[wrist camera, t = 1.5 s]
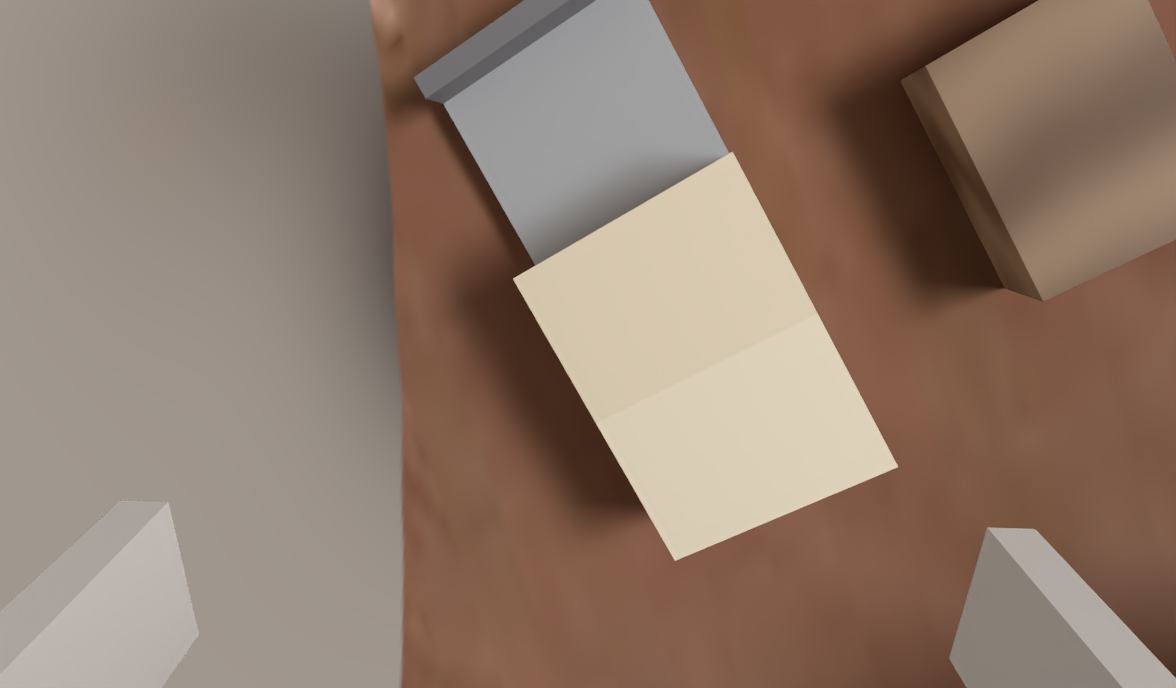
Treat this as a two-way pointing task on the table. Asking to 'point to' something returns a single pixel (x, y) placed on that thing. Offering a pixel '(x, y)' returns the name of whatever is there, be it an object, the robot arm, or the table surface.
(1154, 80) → the tan brown block
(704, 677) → the table surface
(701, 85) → the table surface
